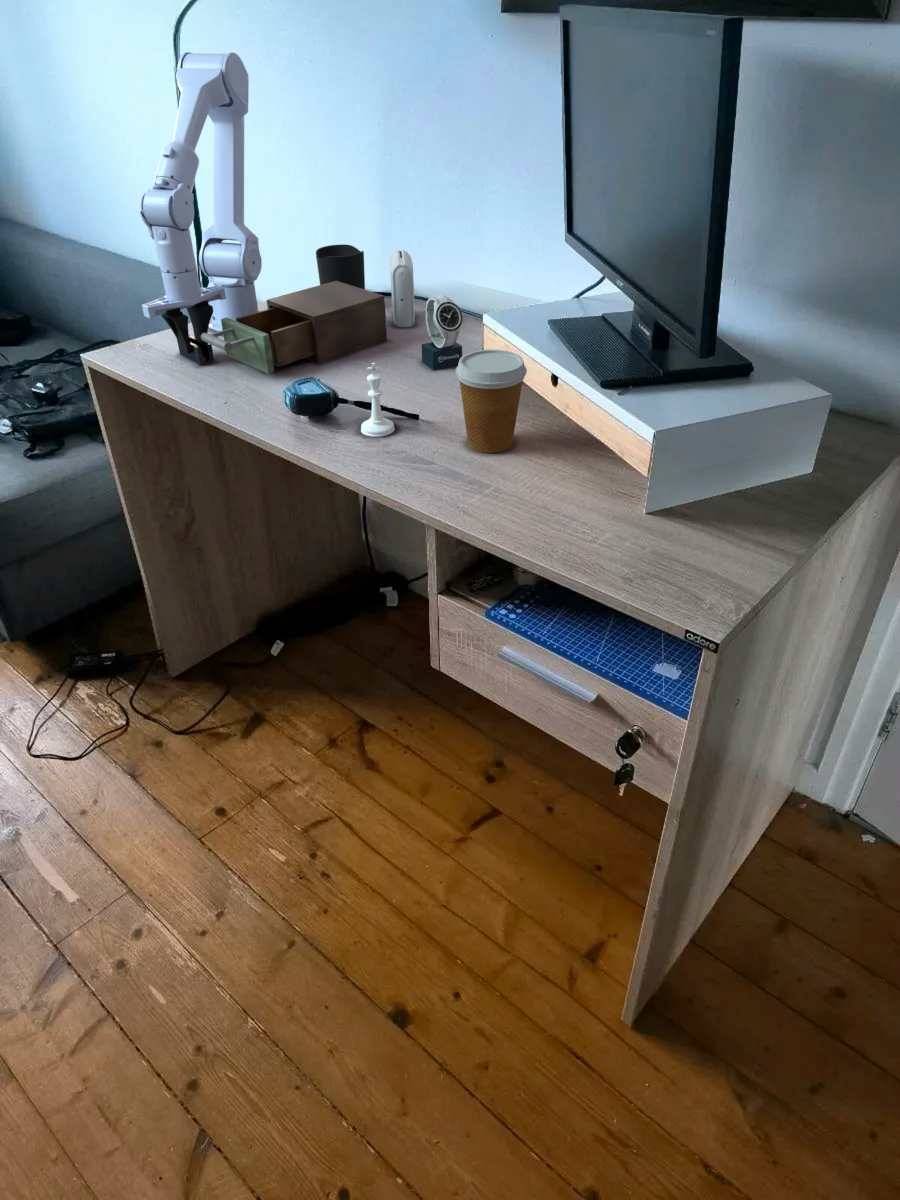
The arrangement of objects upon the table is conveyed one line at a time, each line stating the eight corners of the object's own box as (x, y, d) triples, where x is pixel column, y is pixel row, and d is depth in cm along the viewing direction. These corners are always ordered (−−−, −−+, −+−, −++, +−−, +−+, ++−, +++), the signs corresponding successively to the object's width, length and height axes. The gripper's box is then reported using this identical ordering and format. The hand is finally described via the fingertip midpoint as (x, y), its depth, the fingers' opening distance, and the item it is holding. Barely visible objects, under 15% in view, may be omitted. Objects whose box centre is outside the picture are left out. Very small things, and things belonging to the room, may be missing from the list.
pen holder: (315, 308, 171) (309, 256, 165) (328, 294, 178) (323, 243, 172) (360, 310, 170) (356, 257, 164) (371, 295, 177) (368, 245, 171)
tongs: (176, 353, 151) (172, 337, 149) (190, 349, 152) (187, 333, 150) (200, 365, 146) (197, 348, 144) (214, 361, 148) (211, 343, 146)
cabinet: (319, 364, 146) (313, 316, 141) (272, 345, 154) (266, 299, 149) (387, 341, 155) (384, 295, 150) (340, 324, 163) (336, 280, 158)
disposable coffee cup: (446, 452, 118) (445, 369, 111) (469, 425, 126) (469, 345, 118) (512, 463, 116) (514, 378, 108) (532, 434, 123) (535, 352, 116)
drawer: (239, 383, 137) (232, 345, 134) (197, 364, 144) (190, 327, 141) (337, 351, 149) (334, 314, 145) (294, 334, 156) (290, 299, 152)
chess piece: (360, 423, 127) (355, 357, 121) (394, 421, 127) (390, 356, 121) (360, 437, 123) (355, 370, 117) (395, 436, 123) (391, 369, 117)
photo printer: (416, 327, 161) (413, 259, 153) (393, 328, 160) (389, 260, 153) (413, 310, 169) (411, 244, 162) (392, 311, 169) (388, 245, 161)
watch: (438, 374, 142) (437, 307, 135) (417, 358, 148) (415, 294, 141) (468, 367, 144) (468, 301, 137) (446, 352, 150) (445, 288, 143)
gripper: (204, 255, 146) (217, 333, 155) (126, 273, 138) (145, 354, 146) (226, 263, 142) (239, 343, 150) (147, 281, 134) (166, 365, 142)
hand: (194, 349), depth 148 cm, fingers closed on tongs, 2 cm apart
